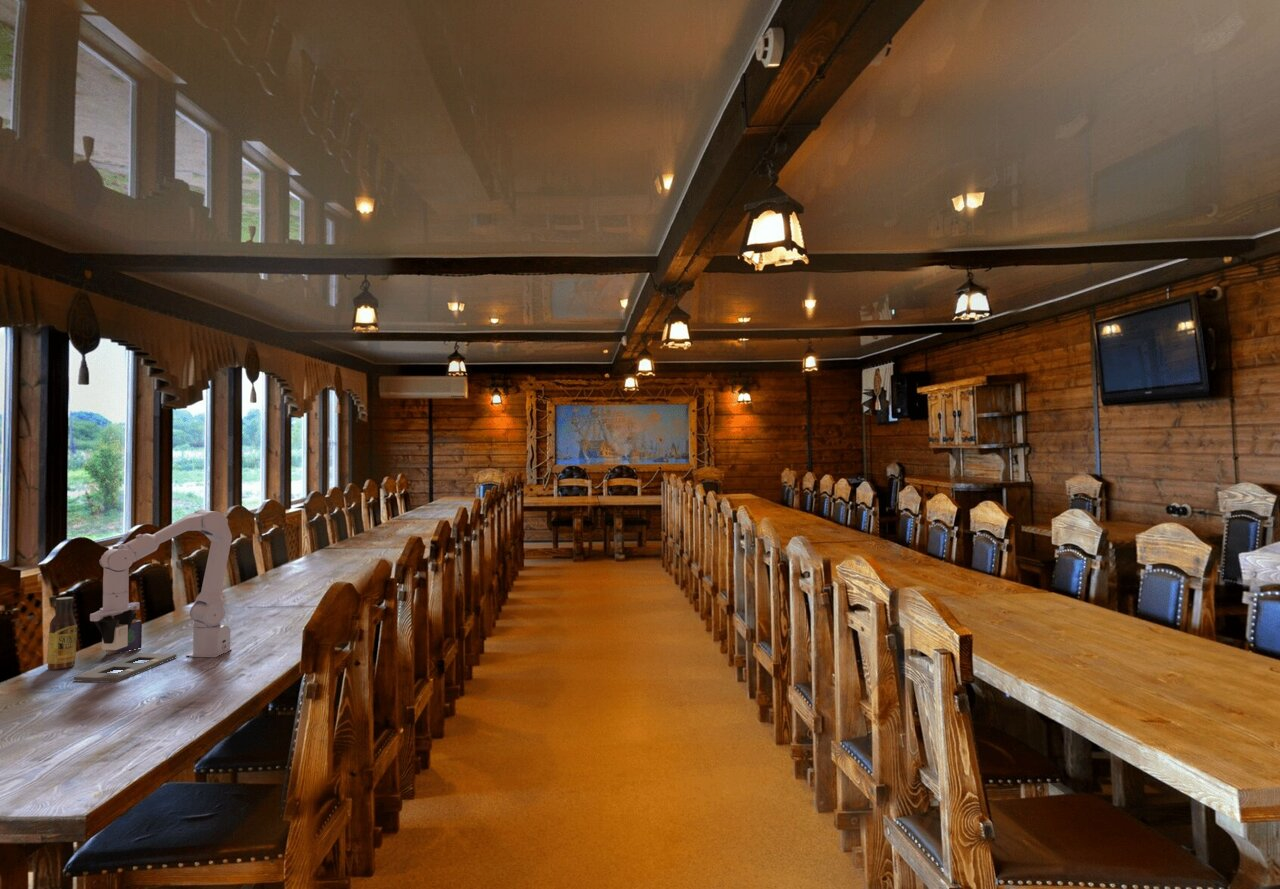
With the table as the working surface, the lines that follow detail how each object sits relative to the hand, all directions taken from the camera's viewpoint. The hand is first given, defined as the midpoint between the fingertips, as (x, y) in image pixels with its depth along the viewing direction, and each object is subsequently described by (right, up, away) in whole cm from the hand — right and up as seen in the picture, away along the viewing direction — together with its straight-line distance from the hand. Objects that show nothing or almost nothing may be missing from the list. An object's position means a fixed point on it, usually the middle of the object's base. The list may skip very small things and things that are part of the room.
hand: (115, 640), depth 192 cm
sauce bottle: (-20, -9, +6) cm, 23 cm away
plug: (0, -2, 0) cm, 2 cm away
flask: (-14, -10, +21) cm, 27 cm away
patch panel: (0, -9, +4) cm, 10 cm away
